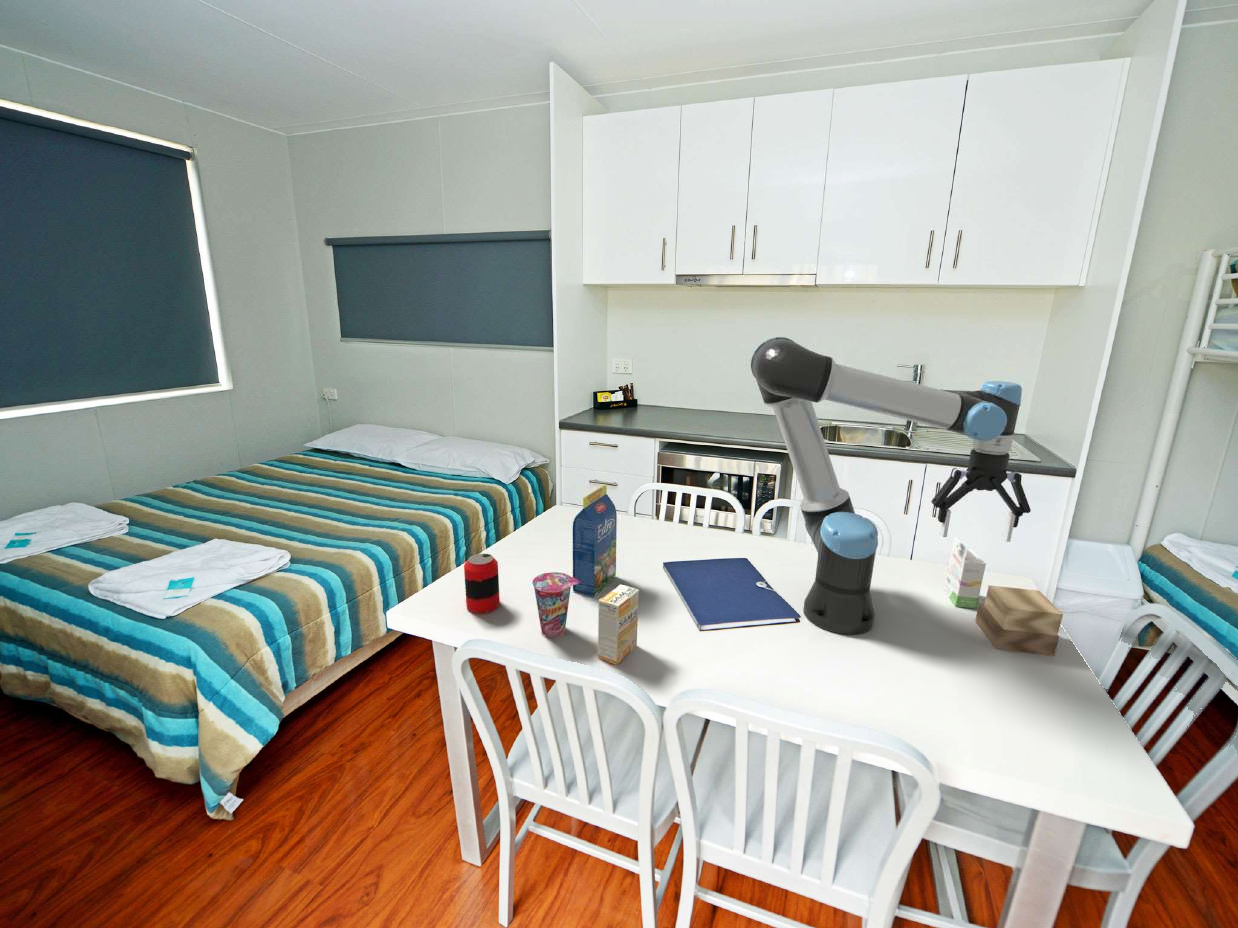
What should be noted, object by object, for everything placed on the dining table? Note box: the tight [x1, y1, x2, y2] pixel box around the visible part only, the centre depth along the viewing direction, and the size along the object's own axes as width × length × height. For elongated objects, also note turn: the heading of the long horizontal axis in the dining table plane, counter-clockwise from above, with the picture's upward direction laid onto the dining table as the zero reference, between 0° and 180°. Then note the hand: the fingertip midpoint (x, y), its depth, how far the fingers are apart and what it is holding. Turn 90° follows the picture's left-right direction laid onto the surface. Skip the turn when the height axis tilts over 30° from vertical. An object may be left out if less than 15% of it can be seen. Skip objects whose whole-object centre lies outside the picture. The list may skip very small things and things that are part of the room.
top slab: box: [983, 585, 1064, 636], centre depth 122 cm, size 10×10×5 cm
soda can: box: [463, 553, 501, 615], centre depth 132 cm, size 8×8×12 cm
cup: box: [531, 571, 579, 639], centre depth 123 cm, size 9×8×12 cm
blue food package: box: [572, 483, 618, 597], centre depth 141 cm, size 6×12×25 cm, turn 155°
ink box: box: [943, 536, 987, 609], centre depth 138 cm, size 9×5×15 cm, turn 168°
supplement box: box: [597, 584, 640, 665], centre depth 116 cm, size 8×5×13 cm, turn 148°
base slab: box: [974, 602, 1060, 657], centre depth 124 cm, size 11×11×5 cm
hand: (974, 537), depth 136 cm, fingers open, 13 cm apart
